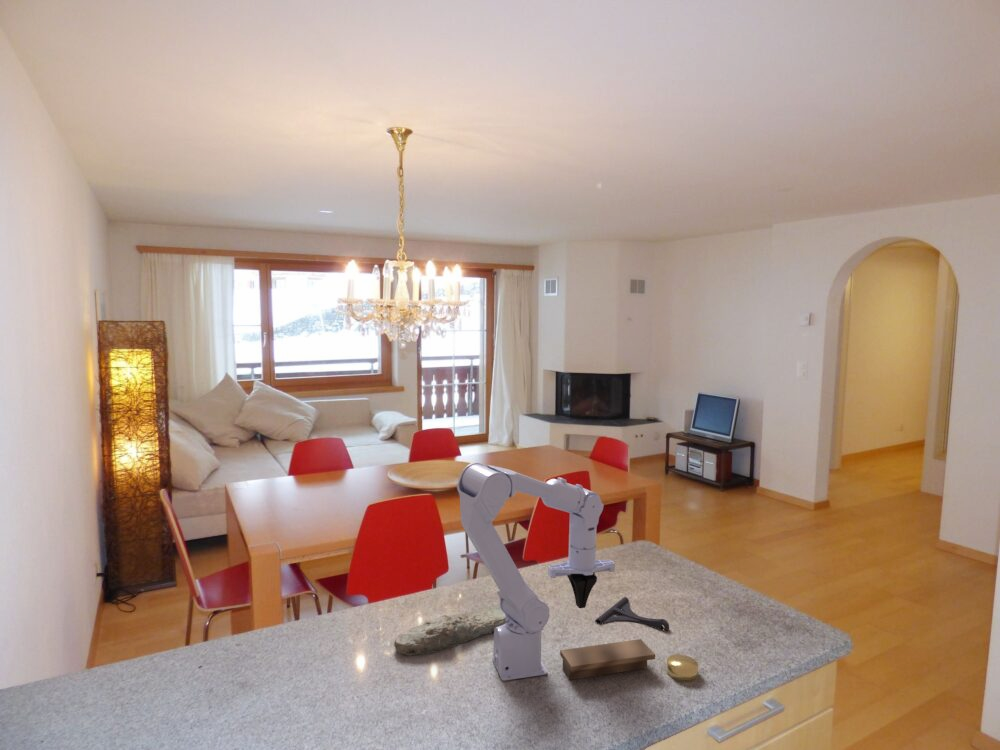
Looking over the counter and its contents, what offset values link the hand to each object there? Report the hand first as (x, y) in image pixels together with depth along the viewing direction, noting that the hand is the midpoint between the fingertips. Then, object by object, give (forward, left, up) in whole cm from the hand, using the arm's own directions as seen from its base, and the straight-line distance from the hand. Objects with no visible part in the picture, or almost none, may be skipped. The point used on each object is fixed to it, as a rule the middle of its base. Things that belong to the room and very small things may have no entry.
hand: (580, 606), depth 132 cm
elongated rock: (-22, +12, -10) cm, 27 cm away
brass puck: (+16, -14, -10) cm, 24 cm away
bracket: (+18, +8, -10) cm, 22 cm away
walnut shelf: (+2, -10, -9) cm, 14 cm away
